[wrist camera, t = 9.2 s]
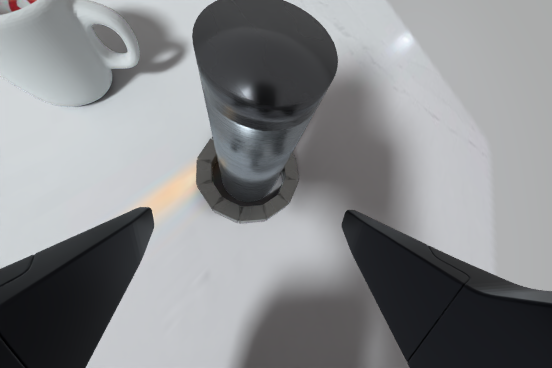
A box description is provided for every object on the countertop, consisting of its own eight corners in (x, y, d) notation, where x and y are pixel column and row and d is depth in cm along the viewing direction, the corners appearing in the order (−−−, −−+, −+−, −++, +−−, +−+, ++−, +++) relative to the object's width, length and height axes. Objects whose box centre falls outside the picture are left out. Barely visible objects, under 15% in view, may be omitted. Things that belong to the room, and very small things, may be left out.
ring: (299, 218, 18) (304, 215, 17) (199, 226, 17) (195, 224, 15) (287, 135, 21) (291, 127, 20) (199, 134, 19) (197, 126, 18)
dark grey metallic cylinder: (284, 182, 19) (364, 69, 7) (242, 212, 18) (253, 129, 6) (254, 144, 20) (281, -17, 8) (211, 169, 18) (161, 13, 6)
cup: (158, 55, 21) (115, -49, 14) (156, 117, 19) (105, 32, 12) (34, 49, 19) (-97, -80, 12) (15, 120, 17) (-163, 15, 9)
